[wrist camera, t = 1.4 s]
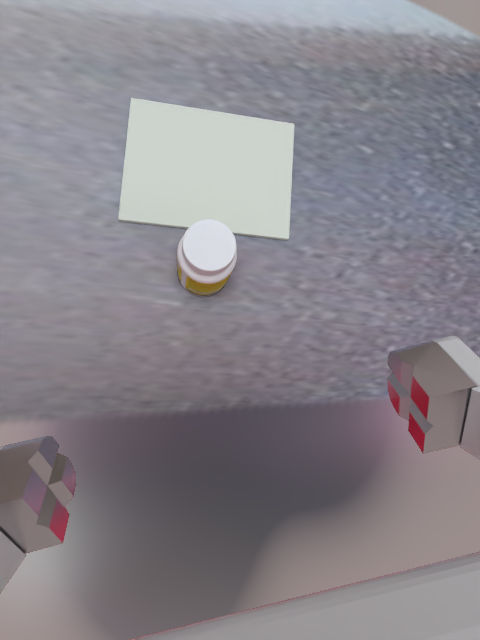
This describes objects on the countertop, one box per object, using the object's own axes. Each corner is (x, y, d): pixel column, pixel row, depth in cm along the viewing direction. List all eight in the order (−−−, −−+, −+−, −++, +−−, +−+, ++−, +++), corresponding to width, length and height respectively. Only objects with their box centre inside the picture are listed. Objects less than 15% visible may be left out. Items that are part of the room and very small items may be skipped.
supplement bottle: (237, 278, 38) (254, 253, 29) (197, 307, 37) (204, 289, 29) (207, 237, 38) (215, 201, 29) (166, 266, 37) (163, 236, 29)
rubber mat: (119, 221, 37) (118, 219, 36) (131, 101, 38) (131, 97, 38) (287, 240, 39) (288, 238, 38) (292, 126, 40) (294, 123, 40)
